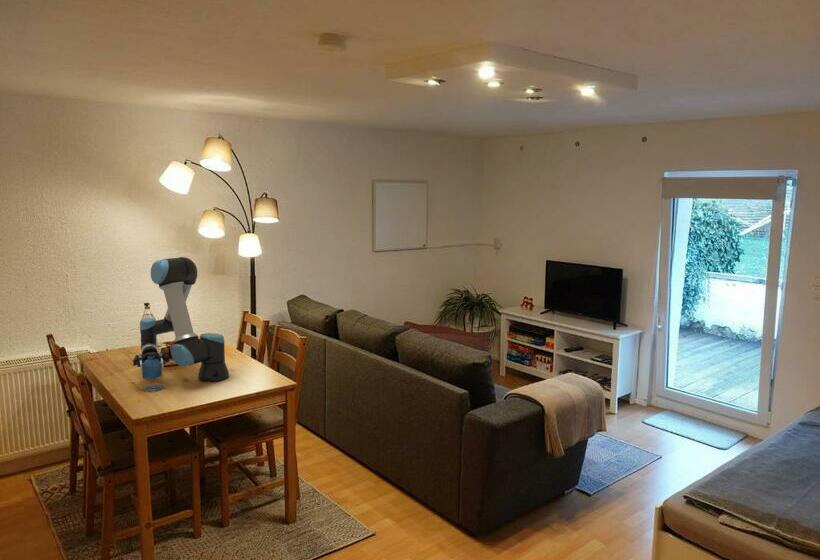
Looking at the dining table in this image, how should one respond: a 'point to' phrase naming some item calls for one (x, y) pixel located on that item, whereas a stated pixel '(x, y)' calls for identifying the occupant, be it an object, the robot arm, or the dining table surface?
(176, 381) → the dining table surface
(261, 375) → the dining table surface
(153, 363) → the perfume bottle
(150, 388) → the coaster
